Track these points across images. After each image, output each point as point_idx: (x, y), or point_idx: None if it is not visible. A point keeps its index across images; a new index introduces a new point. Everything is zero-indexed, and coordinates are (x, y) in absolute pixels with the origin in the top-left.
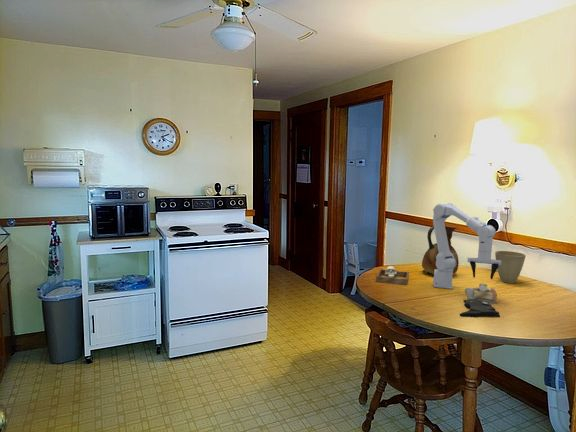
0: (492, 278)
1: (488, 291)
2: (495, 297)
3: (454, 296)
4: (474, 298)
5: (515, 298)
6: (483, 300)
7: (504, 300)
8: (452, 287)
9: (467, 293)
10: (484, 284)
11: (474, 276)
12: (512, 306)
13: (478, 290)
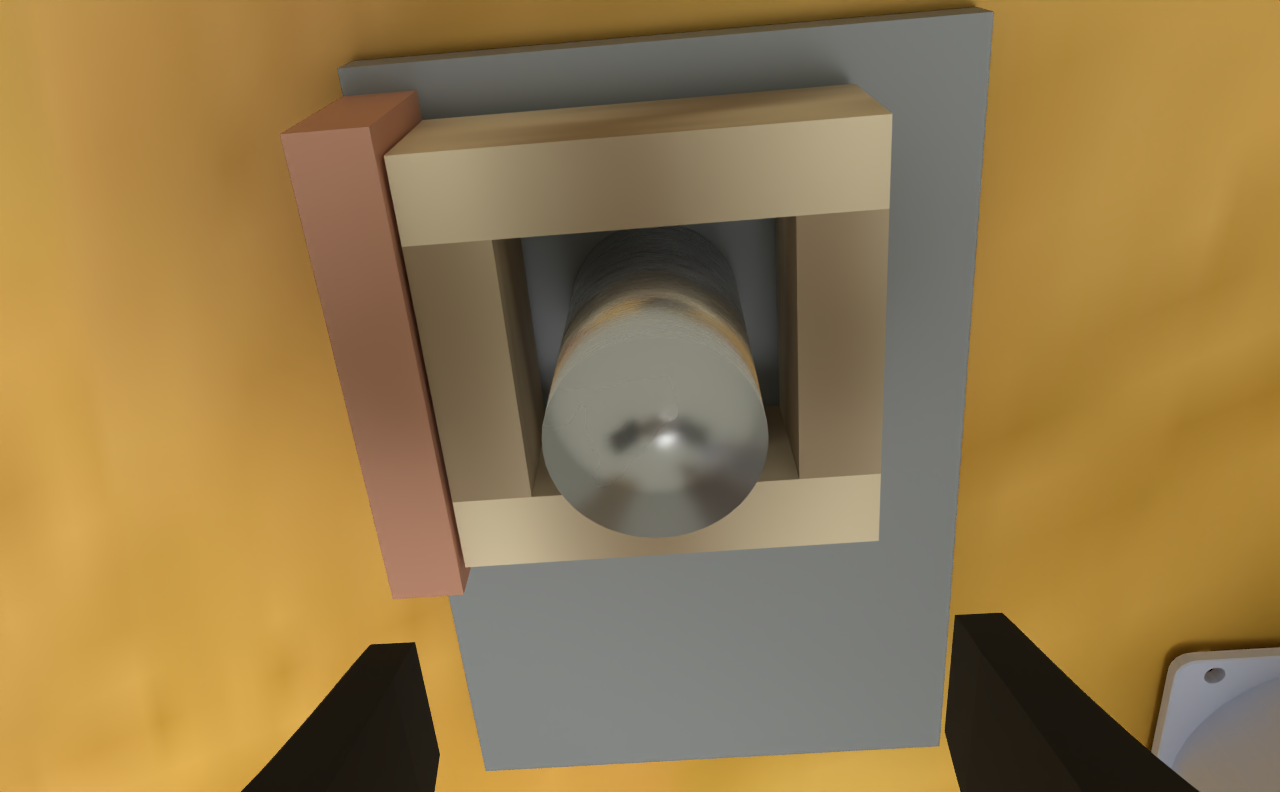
0: (356, 661)
1: (517, 378)
2: (345, 108)
3: (1256, 188)
4: (845, 75)
5: (63, 586)
6: (636, 43)
7: (223, 380)
8: (1179, 700)
9: (957, 404)
10: (620, 491)
11: (993, 632)
12: (6, 10)
13: None
